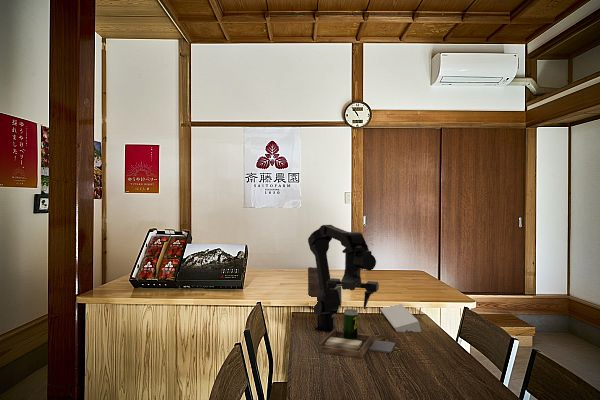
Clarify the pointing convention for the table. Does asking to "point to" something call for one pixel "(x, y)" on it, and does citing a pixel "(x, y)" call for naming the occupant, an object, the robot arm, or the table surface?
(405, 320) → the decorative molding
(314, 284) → the dark brown tall block
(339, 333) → the wooden tray
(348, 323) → the beer can
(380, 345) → the grey rubber mat
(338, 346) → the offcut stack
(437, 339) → the table surface
